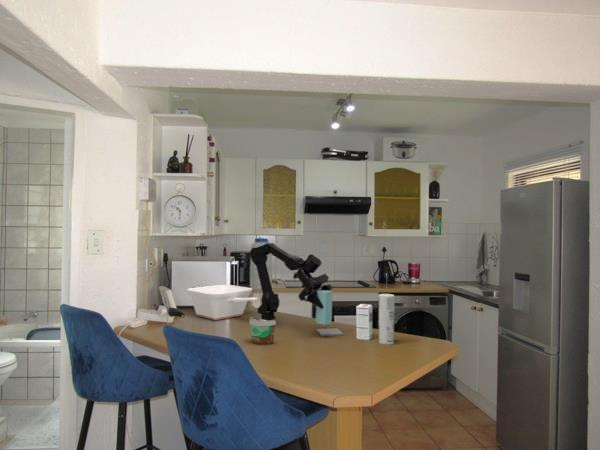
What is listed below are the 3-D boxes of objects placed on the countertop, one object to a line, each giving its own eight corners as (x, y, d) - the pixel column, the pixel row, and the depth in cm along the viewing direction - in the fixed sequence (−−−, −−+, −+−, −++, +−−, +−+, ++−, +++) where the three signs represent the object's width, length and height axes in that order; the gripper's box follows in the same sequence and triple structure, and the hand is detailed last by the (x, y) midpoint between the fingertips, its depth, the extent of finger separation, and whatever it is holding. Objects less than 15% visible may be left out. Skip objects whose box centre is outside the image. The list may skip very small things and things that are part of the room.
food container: (243, 343, 172) (243, 319, 173) (251, 339, 178) (251, 316, 178) (268, 347, 167) (268, 322, 167) (276, 343, 172) (276, 319, 172)
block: (315, 322, 183) (316, 291, 183) (322, 321, 186) (323, 289, 187) (324, 324, 179) (325, 292, 180) (331, 322, 183) (332, 291, 183)
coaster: (321, 336, 185) (321, 334, 185) (316, 330, 195) (316, 329, 195) (343, 335, 186) (343, 333, 186) (337, 330, 196) (337, 328, 196)
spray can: (390, 345, 170) (390, 296, 171) (375, 342, 174) (376, 295, 175) (396, 342, 176) (396, 294, 176) (382, 339, 180) (382, 293, 180)
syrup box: (369, 340, 178) (369, 306, 178) (356, 338, 180) (356, 305, 181) (372, 337, 183) (372, 304, 183) (359, 335, 186) (359, 303, 186)
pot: (225, 309, 246) (225, 284, 246) (276, 320, 216) (277, 292, 216) (182, 316, 225) (182, 288, 225) (232, 330, 195) (233, 298, 195)
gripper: (304, 269, 179) (324, 298, 171) (329, 266, 193) (349, 293, 186) (290, 286, 183) (309, 314, 176) (315, 282, 198) (334, 308, 191)
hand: (326, 307), depth 182 cm, fingers closed on block, 5 cm apart
